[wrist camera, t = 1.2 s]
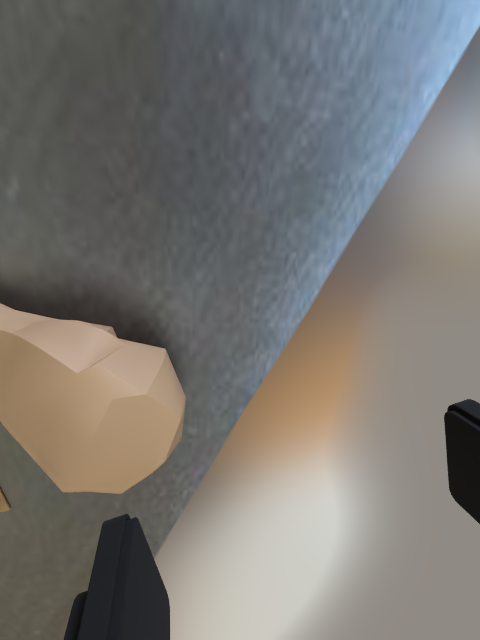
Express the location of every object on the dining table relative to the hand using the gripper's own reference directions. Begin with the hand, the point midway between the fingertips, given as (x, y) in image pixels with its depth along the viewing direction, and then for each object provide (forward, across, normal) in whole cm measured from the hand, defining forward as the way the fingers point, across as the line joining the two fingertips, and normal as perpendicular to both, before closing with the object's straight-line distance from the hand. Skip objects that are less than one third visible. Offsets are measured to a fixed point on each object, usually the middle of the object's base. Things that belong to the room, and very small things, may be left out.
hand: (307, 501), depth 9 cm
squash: (+20, +12, 0) cm, 24 cm away
